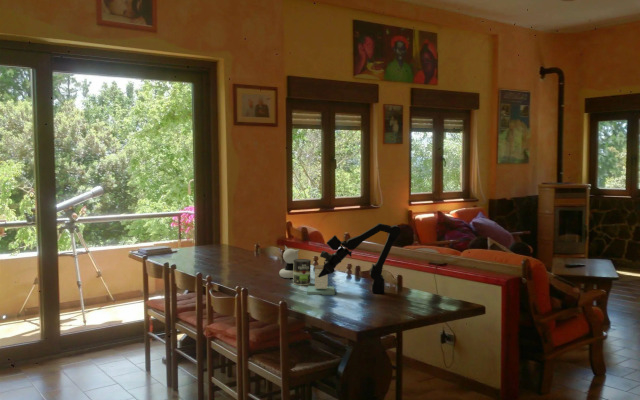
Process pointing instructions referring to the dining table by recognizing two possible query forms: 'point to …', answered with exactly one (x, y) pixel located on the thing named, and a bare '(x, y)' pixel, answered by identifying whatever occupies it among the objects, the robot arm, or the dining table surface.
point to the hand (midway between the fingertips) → (318, 275)
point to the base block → (321, 290)
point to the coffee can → (301, 271)
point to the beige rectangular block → (320, 278)
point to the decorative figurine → (289, 262)
